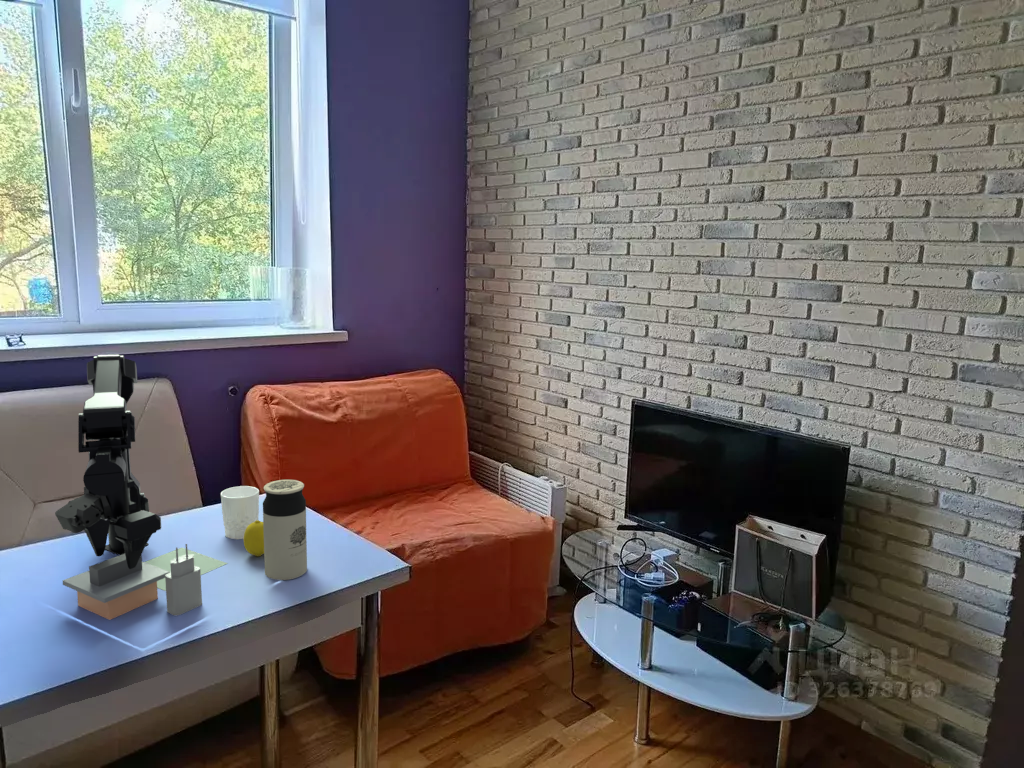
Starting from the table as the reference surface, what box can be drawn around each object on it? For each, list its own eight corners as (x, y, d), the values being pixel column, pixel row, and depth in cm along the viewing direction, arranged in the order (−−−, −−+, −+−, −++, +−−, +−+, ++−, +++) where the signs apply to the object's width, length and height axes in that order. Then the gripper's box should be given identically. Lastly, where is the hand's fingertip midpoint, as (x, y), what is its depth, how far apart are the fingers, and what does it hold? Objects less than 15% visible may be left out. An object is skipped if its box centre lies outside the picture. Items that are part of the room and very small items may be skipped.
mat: (118, 574, 139) (118, 572, 139) (182, 549, 152) (182, 547, 151) (165, 592, 133) (164, 590, 133) (227, 565, 145) (227, 563, 145)
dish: (78, 607, 126) (76, 583, 126) (126, 587, 134) (125, 565, 133) (109, 621, 122) (107, 597, 121) (157, 600, 130) (156, 577, 129)
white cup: (252, 542, 156) (251, 498, 154) (216, 541, 156) (214, 497, 154) (265, 528, 164) (264, 486, 162) (230, 527, 164) (229, 485, 162)
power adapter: (204, 605, 129) (201, 542, 126) (176, 618, 124) (172, 553, 122) (193, 601, 130) (189, 538, 128) (165, 613, 126) (161, 548, 123)
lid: (62, 584, 125) (61, 564, 124) (128, 560, 135) (126, 541, 135) (104, 603, 119) (103, 581, 119) (169, 575, 130) (168, 556, 129)
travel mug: (257, 571, 142) (254, 484, 139) (293, 560, 148) (291, 476, 145) (278, 585, 137) (275, 495, 134) (314, 572, 143) (313, 486, 140)
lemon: (263, 564, 146) (262, 526, 144) (238, 560, 147) (237, 523, 146) (277, 553, 151) (276, 517, 150) (253, 550, 152) (252, 514, 151)
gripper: (29, 479, 121) (37, 565, 124) (96, 501, 112) (103, 593, 115) (94, 463, 131) (100, 543, 134) (160, 482, 122) (165, 568, 125)
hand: (115, 561), depth 127 cm, fingers open, 9 cm apart
